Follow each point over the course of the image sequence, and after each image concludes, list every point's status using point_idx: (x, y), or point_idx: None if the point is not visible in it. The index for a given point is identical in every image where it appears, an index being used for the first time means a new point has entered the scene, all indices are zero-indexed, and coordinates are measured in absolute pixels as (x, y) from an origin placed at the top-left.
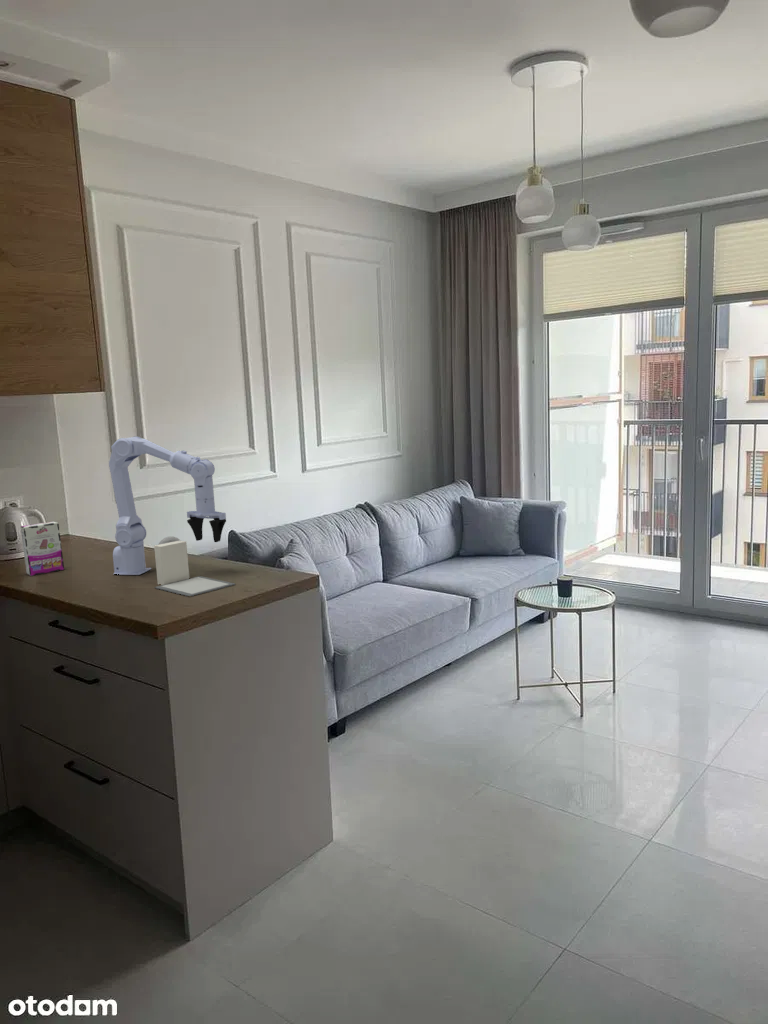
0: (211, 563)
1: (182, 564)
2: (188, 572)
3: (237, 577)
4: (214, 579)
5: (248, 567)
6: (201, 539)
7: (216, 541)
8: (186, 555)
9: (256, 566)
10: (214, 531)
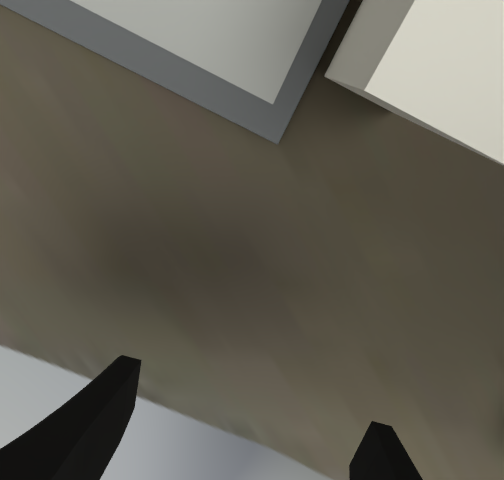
0: None
1: (367, 13)
2: (329, 72)
3: (39, 160)
4: (120, 56)
5: None
6: (352, 461)
7: (114, 363)
8: (346, 66)
9: None
10: (35, 440)
